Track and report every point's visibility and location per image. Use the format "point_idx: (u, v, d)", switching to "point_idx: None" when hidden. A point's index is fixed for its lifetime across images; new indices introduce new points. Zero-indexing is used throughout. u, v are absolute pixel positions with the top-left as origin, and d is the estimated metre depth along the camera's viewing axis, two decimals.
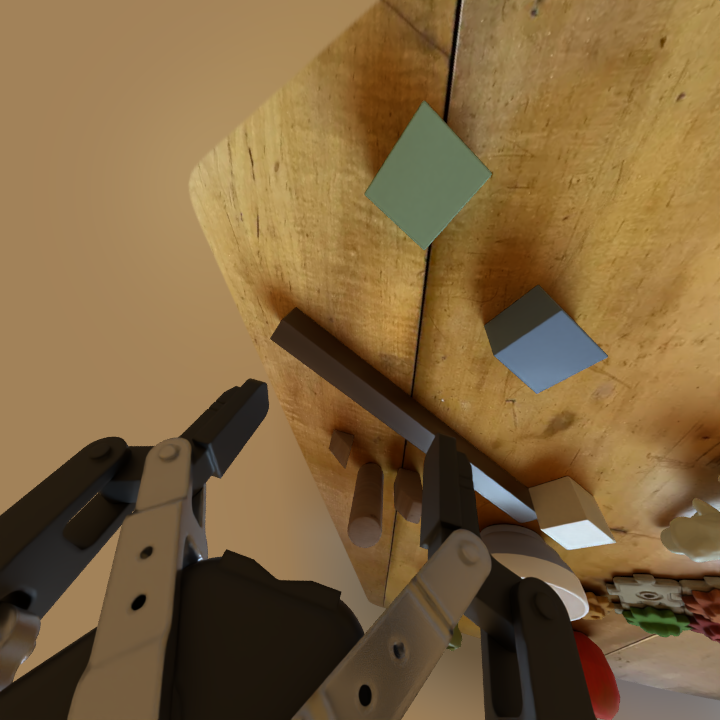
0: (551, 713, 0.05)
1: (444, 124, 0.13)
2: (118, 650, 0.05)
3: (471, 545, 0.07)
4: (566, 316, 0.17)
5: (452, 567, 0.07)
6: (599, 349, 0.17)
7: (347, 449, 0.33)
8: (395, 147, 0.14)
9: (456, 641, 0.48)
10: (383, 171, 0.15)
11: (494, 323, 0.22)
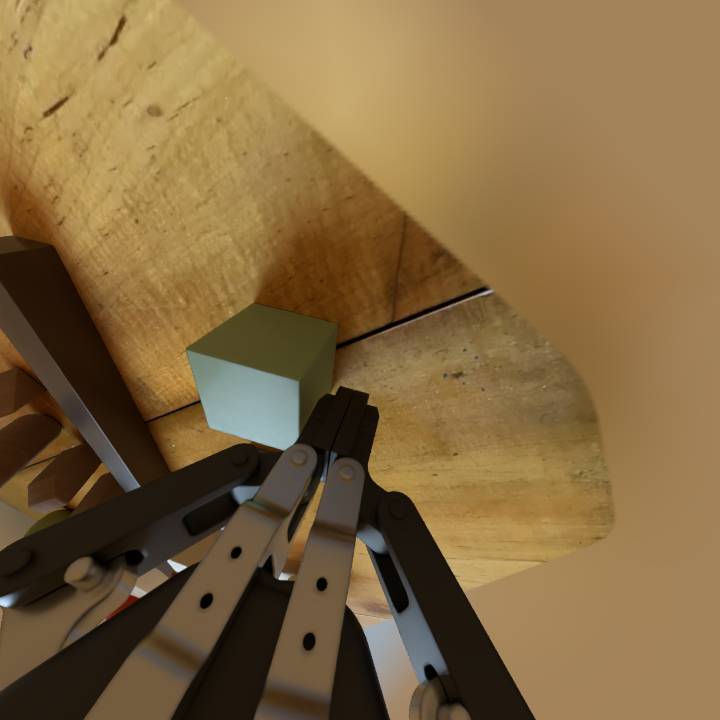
0: (423, 584, 0.07)
1: (298, 406, 0.11)
2: (171, 639, 0.05)
3: (350, 468, 0.09)
4: None
5: (327, 482, 0.08)
6: None
7: (9, 409, 0.23)
8: (247, 367, 0.10)
9: None
10: (220, 363, 0.11)
11: None
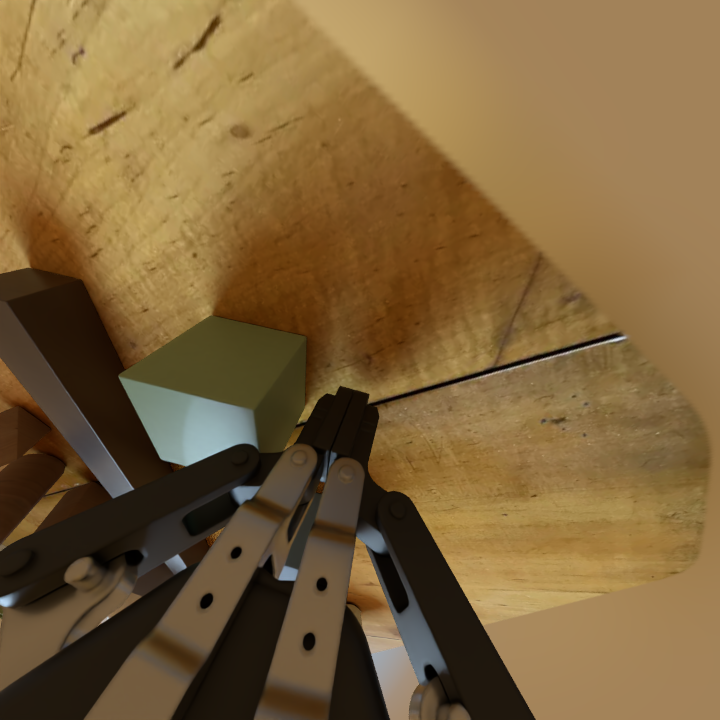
0: (423, 584, 0.07)
1: (256, 437, 0.09)
2: (171, 639, 0.05)
3: (350, 468, 0.09)
4: None
5: (327, 482, 0.08)
6: None
7: (12, 456, 0.20)
8: (192, 395, 0.09)
9: None
10: (160, 391, 0.09)
11: None
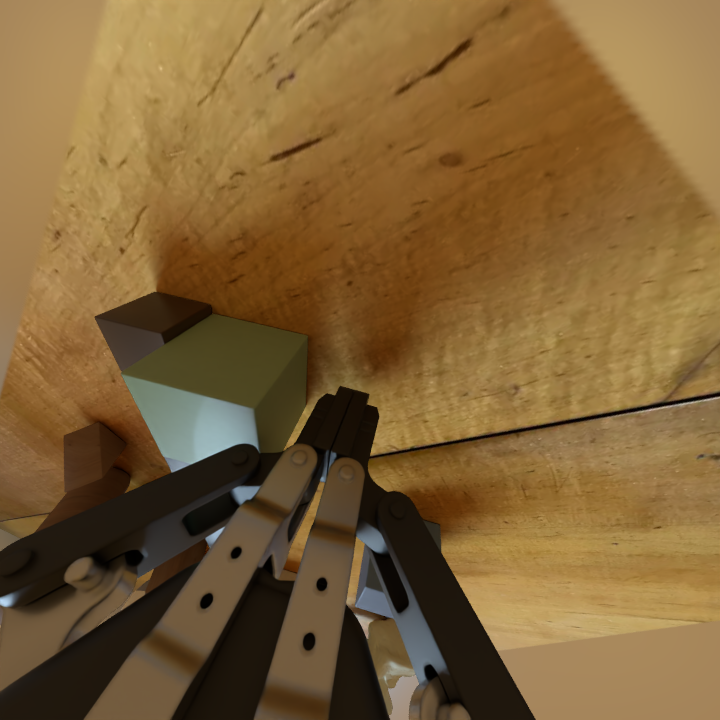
0: (423, 584, 0.07)
1: (256, 435, 0.10)
2: (171, 639, 0.05)
3: (350, 468, 0.09)
4: None
5: (327, 482, 0.08)
6: None
7: (97, 474, 0.20)
8: (194, 393, 0.09)
9: None
10: (162, 388, 0.09)
11: None
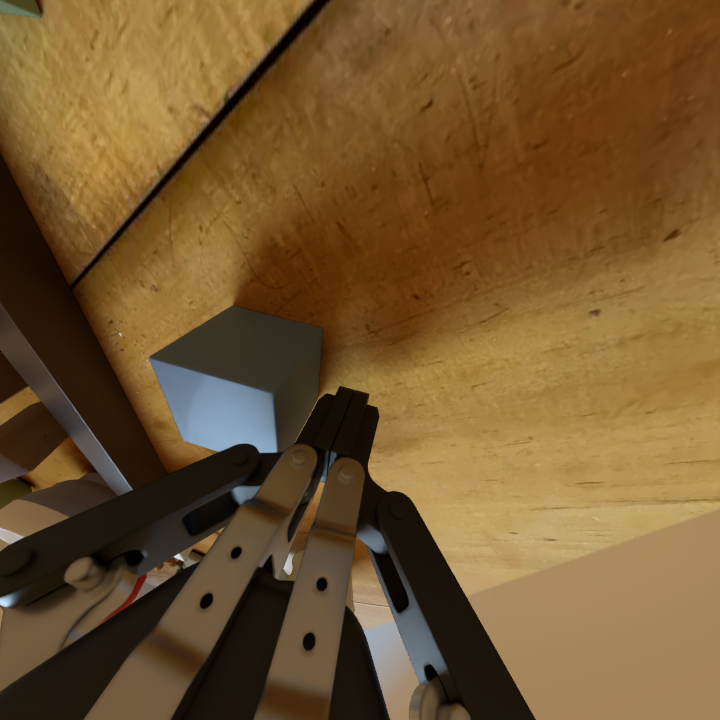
0: (423, 584, 0.07)
1: None
2: (171, 639, 0.05)
3: (350, 468, 0.09)
4: (272, 404, 0.09)
5: (327, 482, 0.08)
6: None
7: None
8: None
9: None
10: None
11: (237, 316, 0.13)
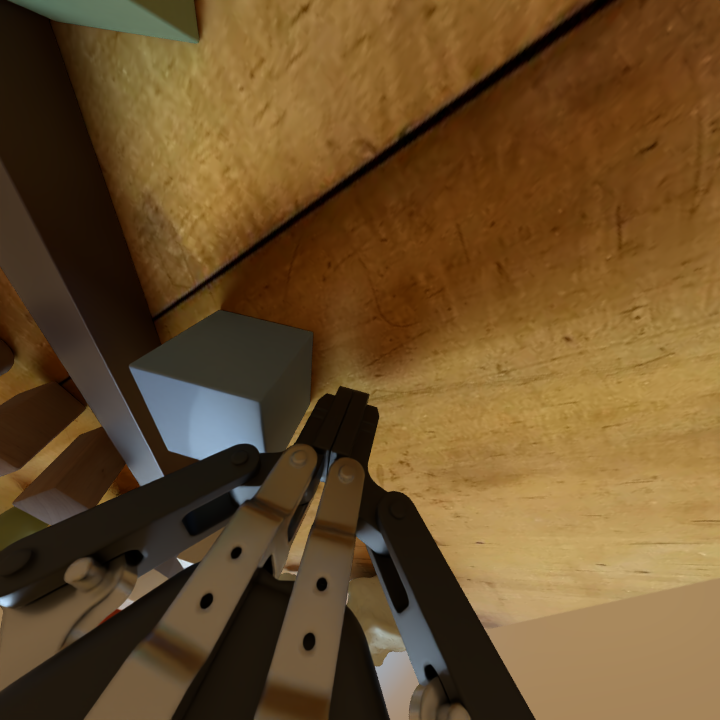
0: (423, 584, 0.07)
1: None
2: (171, 639, 0.05)
3: (350, 468, 0.09)
4: (259, 412, 0.09)
5: (327, 482, 0.08)
6: None
7: None
8: None
9: None
10: None
11: (224, 321, 0.12)
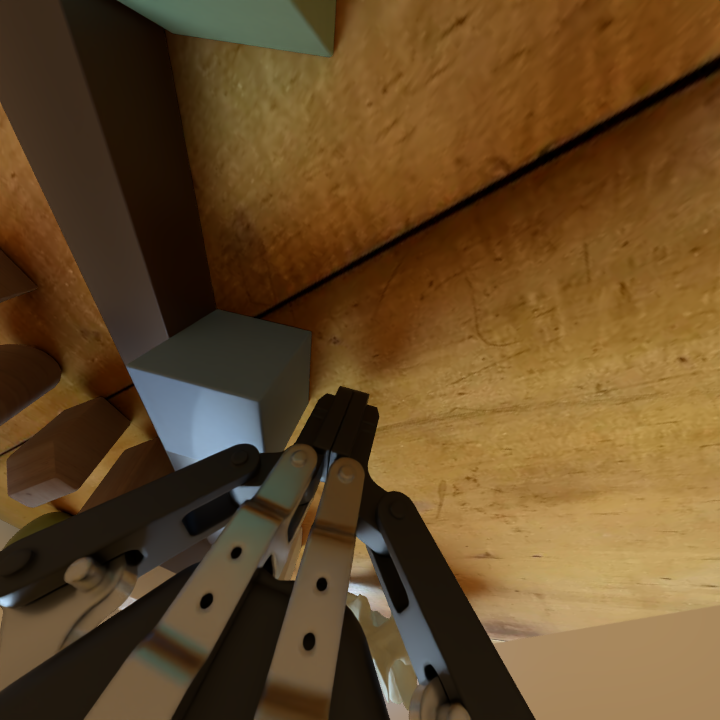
0: (423, 584, 0.07)
1: None
2: (171, 639, 0.05)
3: (350, 468, 0.09)
4: (258, 412, 0.09)
5: (327, 482, 0.08)
6: None
7: None
8: None
9: None
10: None
11: (222, 320, 0.12)
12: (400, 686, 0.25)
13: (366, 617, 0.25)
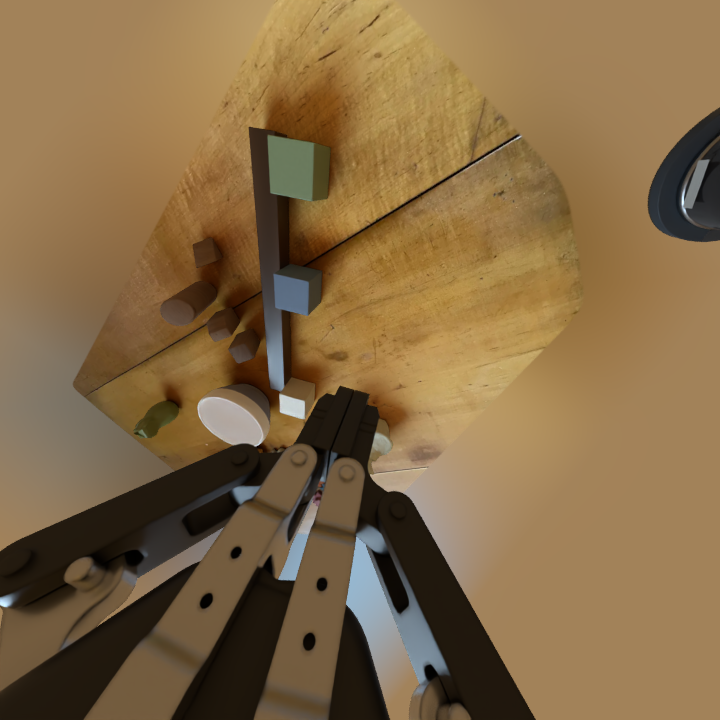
0: (423, 584, 0.07)
1: (312, 161, 0.26)
2: (171, 639, 0.05)
3: (350, 468, 0.09)
4: (308, 285, 0.34)
5: (327, 482, 0.08)
6: (307, 310, 0.36)
7: (213, 259, 0.38)
8: (293, 140, 0.26)
9: (149, 433, 0.60)
10: (281, 140, 0.26)
11: (293, 266, 0.38)
12: None
13: None
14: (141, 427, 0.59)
